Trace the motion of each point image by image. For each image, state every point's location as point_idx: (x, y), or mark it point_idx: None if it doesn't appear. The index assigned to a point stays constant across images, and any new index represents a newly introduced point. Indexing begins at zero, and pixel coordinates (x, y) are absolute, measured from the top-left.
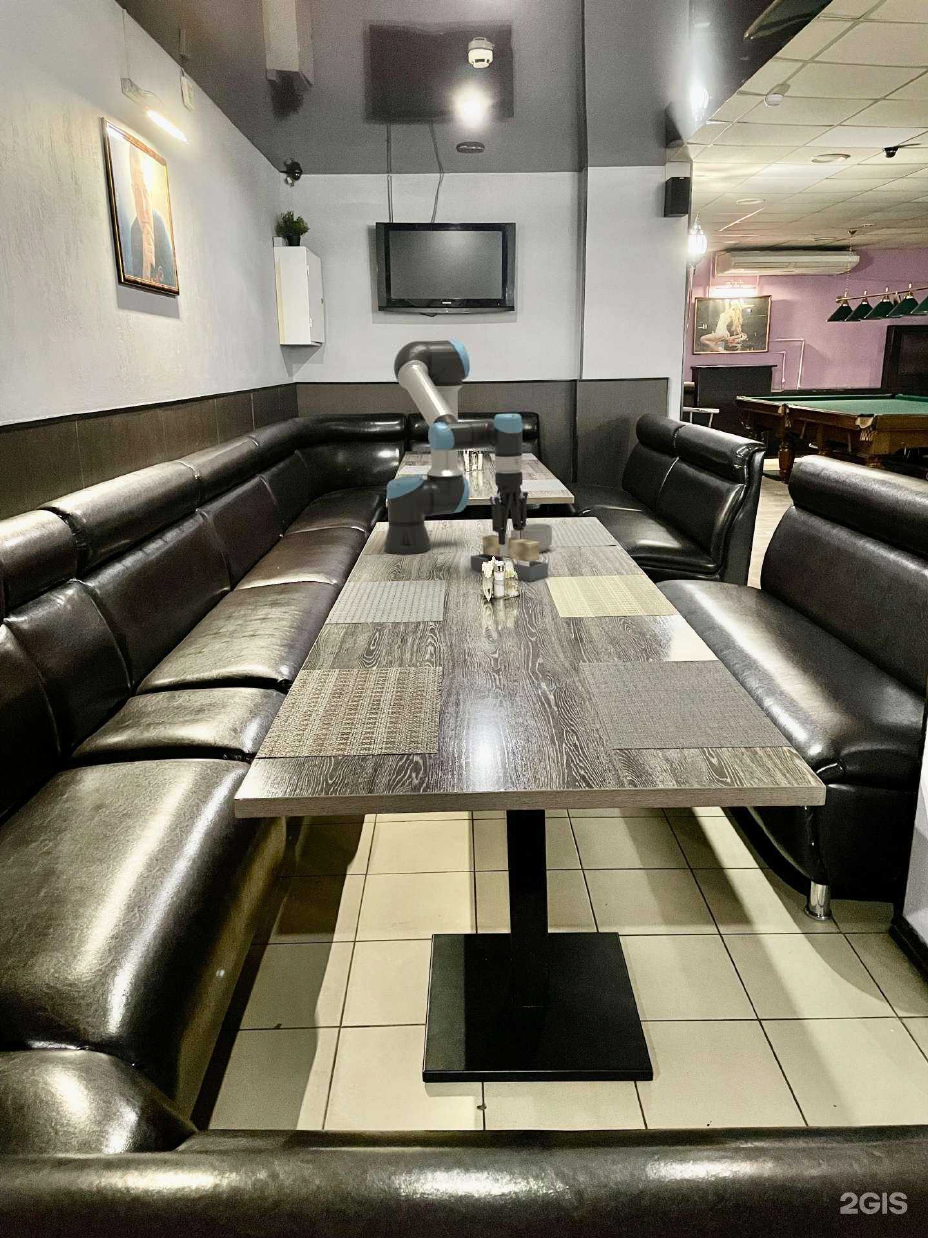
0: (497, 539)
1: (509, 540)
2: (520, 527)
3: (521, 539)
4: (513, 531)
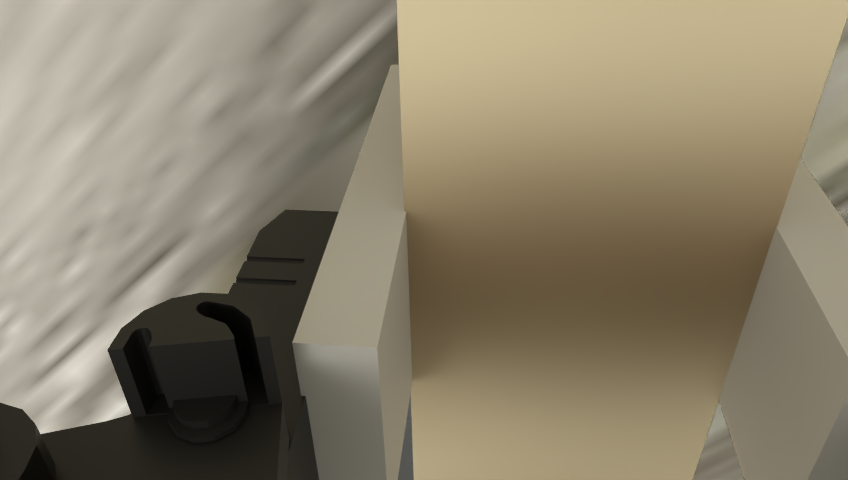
0: (691, 468)
1: (717, 235)
2: (218, 419)
3: (429, 79)
4: (391, 446)
